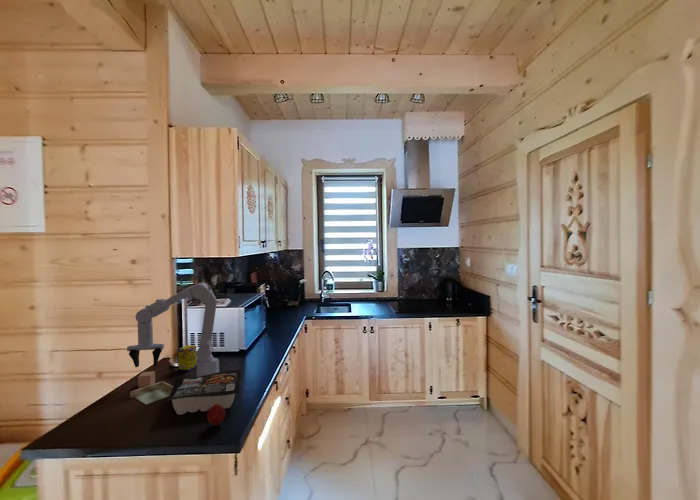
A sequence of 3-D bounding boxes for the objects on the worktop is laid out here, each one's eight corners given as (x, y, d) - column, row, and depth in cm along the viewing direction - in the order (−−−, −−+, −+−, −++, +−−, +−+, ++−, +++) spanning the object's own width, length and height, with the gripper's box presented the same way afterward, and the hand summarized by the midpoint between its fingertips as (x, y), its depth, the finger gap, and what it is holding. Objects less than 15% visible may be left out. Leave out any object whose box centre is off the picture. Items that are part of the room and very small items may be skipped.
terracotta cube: (155, 382, 155) (155, 371, 155) (150, 386, 150) (150, 375, 150) (143, 383, 154) (143, 372, 154) (138, 387, 149) (137, 376, 149)
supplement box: (189, 371, 167) (188, 349, 167) (178, 370, 168) (177, 348, 168) (196, 367, 173) (196, 345, 173) (186, 366, 174) (185, 345, 174)
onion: (210, 421, 120) (210, 399, 120) (227, 420, 120) (227, 398, 120) (205, 430, 114) (204, 407, 114) (222, 429, 114) (222, 406, 114)
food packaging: (241, 368, 150) (239, 390, 128) (241, 385, 150) (239, 410, 128) (178, 375, 143) (165, 399, 121) (179, 393, 143) (165, 420, 122)
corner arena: (163, 386, 150) (162, 380, 150) (178, 394, 142) (177, 388, 142) (130, 397, 139) (129, 391, 139) (144, 406, 131) (144, 400, 131)
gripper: (166, 332, 156) (167, 361, 157) (132, 334, 154) (133, 363, 155) (160, 336, 149) (161, 367, 150) (124, 338, 147) (125, 369, 148)
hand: (146, 365), depth 152 cm, fingers open, 7 cm apart
